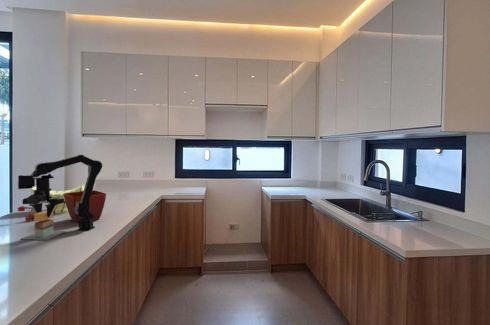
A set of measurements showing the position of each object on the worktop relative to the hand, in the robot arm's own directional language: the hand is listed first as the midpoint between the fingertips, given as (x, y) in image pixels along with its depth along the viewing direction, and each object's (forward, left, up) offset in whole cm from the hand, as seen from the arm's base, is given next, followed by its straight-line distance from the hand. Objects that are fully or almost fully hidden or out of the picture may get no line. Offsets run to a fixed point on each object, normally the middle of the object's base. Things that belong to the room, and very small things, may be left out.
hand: (44, 217), depth 154 cm
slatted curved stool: (+32, -56, -10) cm, 65 cm away
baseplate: (0, 0, -10) cm, 10 cm away
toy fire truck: (+30, -28, -10) cm, 42 cm away
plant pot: (-1, -34, -10) cm, 35 cm away
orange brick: (0, 0, -1) cm, 1 cm away
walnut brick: (0, 0, -6) cm, 6 cm away
